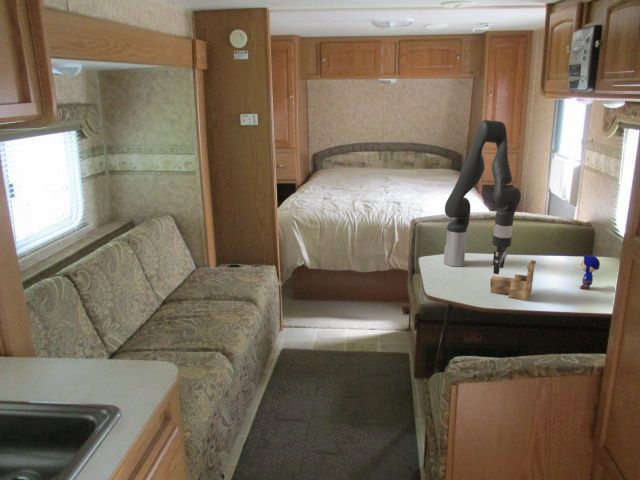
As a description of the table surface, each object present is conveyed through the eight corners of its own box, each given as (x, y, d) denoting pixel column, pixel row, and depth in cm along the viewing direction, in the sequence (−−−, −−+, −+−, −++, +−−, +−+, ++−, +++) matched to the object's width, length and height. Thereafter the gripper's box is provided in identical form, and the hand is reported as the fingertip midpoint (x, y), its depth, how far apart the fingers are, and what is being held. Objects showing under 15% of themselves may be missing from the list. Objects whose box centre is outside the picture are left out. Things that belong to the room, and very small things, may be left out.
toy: (580, 282, 246) (585, 250, 241) (599, 286, 241) (603, 253, 237) (573, 290, 236) (578, 258, 231) (592, 294, 231) (597, 261, 227)
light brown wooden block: (490, 292, 235) (490, 277, 233) (492, 289, 238) (492, 274, 236) (521, 295, 228) (521, 280, 227) (523, 292, 232) (523, 277, 230)
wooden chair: (507, 297, 229) (511, 264, 224) (512, 290, 236) (515, 257, 232) (527, 301, 225) (531, 267, 221) (532, 294, 232) (535, 260, 228)
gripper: (497, 228, 235) (493, 264, 240) (489, 237, 224) (485, 274, 229) (515, 231, 232) (511, 267, 237) (507, 240, 220) (503, 277, 225)
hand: (498, 270), depth 233 cm, fingers open, 8 cm apart
